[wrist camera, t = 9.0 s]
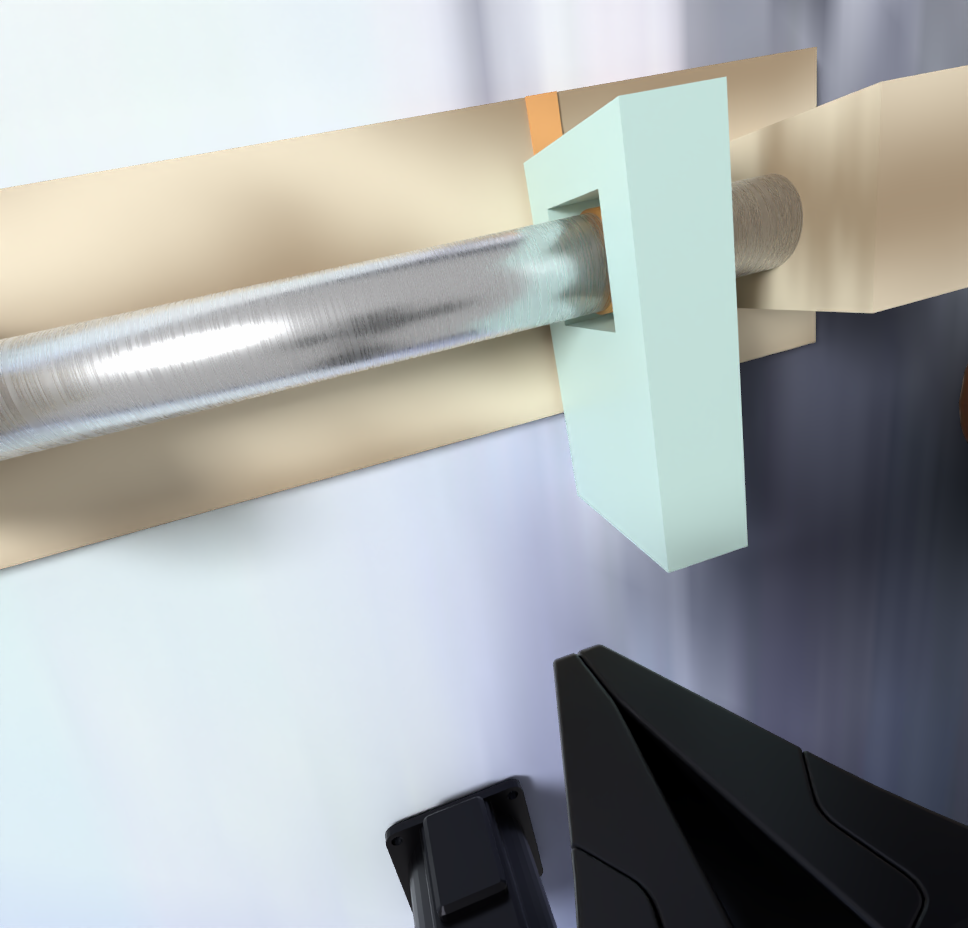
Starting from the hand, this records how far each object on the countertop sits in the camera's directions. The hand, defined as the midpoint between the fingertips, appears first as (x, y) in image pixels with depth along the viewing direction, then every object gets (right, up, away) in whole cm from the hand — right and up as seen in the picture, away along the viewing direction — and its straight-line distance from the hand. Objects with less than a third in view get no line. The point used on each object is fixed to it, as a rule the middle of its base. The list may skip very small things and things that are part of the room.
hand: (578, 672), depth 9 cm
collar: (+2, +8, +10) cm, 13 cm away
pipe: (-5, +8, +6) cm, 11 cm away
